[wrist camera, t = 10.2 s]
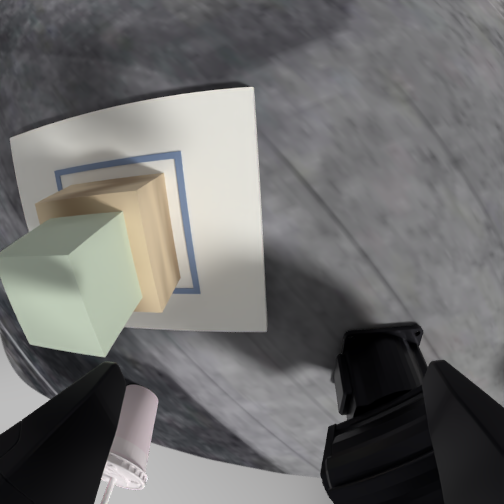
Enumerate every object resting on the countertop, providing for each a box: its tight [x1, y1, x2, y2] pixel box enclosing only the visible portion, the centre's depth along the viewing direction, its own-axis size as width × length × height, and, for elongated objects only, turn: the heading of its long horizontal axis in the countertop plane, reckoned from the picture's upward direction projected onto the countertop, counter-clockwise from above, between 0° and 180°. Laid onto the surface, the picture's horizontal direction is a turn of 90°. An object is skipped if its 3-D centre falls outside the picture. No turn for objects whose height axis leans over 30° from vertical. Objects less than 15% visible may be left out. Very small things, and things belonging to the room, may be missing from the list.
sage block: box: [0, 211, 142, 357], centre depth 14 cm, size 5×5×5 cm
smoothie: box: [101, 385, 158, 504], centre depth 23 cm, size 6×6×14 cm
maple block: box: [35, 173, 181, 313], centre depth 18 cm, size 7×7×4 cm
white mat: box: [10, 87, 267, 332], centre depth 20 cm, size 18×16×1 cm
